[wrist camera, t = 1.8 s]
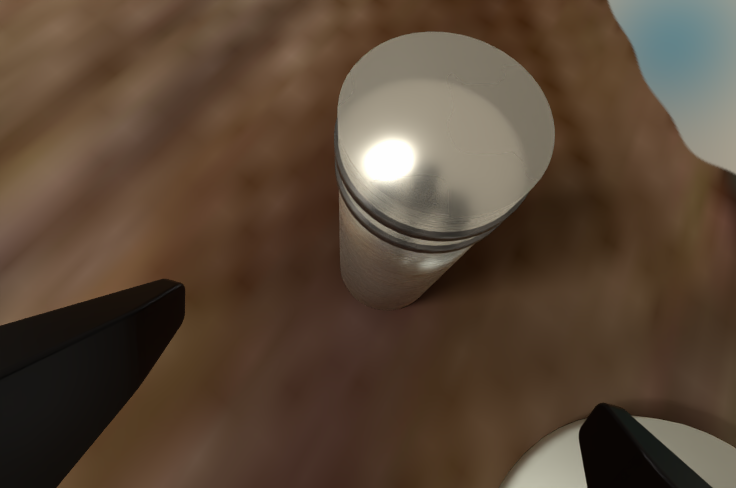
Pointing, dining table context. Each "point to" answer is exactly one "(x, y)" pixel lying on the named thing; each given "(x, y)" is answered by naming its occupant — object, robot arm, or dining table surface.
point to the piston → (431, 159)
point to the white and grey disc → (694, 447)
